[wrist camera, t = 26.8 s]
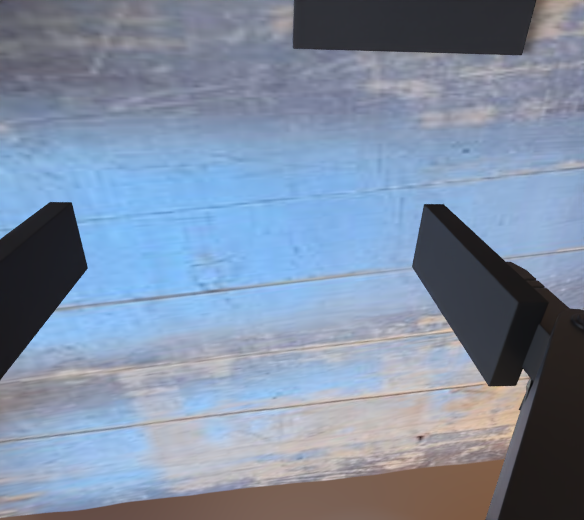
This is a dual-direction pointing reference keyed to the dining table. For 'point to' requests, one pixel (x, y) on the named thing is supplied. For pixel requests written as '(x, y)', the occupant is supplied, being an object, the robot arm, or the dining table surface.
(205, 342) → the dining table surface
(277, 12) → the dining table surface
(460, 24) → the placemat
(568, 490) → the robot arm
